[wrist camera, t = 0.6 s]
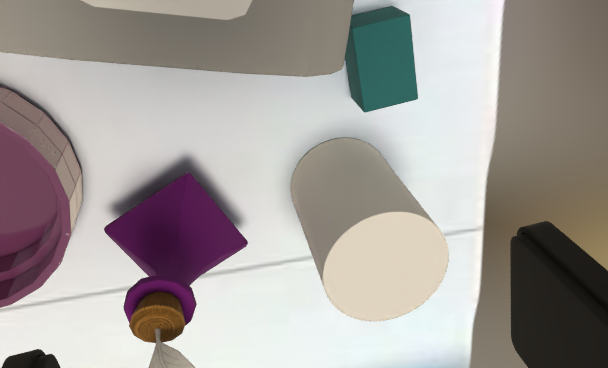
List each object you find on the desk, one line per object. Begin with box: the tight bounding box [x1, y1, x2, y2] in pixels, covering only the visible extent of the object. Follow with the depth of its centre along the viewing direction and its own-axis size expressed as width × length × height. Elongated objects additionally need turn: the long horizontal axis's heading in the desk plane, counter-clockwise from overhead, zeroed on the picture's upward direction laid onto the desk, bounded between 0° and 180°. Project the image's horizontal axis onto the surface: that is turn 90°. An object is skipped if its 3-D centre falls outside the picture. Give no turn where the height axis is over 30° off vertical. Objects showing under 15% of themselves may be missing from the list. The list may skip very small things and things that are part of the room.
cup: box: [291, 138, 449, 321], centre depth 41 cm, size 8×8×12 cm
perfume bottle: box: [104, 173, 248, 368], centre depth 37 cm, size 8×8×18 cm
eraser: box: [345, 6, 418, 112], centre depth 40 cm, size 6×4×4 cm, turn 11°
